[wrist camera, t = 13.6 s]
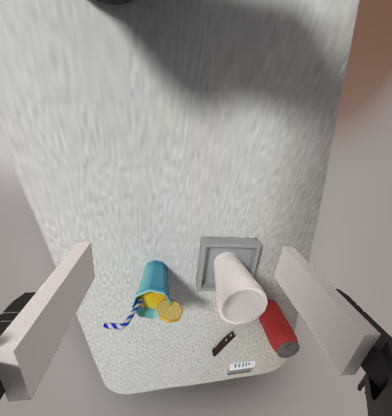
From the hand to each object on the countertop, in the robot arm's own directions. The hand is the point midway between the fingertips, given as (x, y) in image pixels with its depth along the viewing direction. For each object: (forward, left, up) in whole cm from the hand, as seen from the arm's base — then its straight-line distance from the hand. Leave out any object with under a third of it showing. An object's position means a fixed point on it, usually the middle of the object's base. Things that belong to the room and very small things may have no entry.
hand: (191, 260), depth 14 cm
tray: (+22, +13, -29) cm, 38 cm away
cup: (+24, -5, -29) cm, 38 cm away
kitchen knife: (+48, +19, -29) cm, 59 cm away
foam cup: (+22, +13, -28) cm, 38 cm away
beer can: (+38, +28, -29) cm, 55 cm away
